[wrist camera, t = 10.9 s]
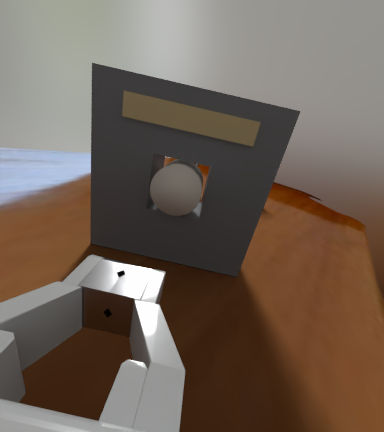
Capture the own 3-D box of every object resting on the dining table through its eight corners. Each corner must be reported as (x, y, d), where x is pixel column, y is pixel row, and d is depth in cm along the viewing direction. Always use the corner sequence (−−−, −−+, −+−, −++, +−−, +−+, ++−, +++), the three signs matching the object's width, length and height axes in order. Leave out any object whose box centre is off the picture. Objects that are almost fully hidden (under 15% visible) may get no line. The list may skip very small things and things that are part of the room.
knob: (195, 220, 20) (206, 172, 18) (147, 209, 20) (153, 160, 18) (200, 191, 30) (207, 158, 28) (168, 184, 30) (173, 150, 28)
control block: (237, 279, 23) (302, 110, 16) (88, 245, 23) (89, 61, 16) (231, 250, 29) (277, 117, 22) (113, 222, 29) (121, 81, 22)
